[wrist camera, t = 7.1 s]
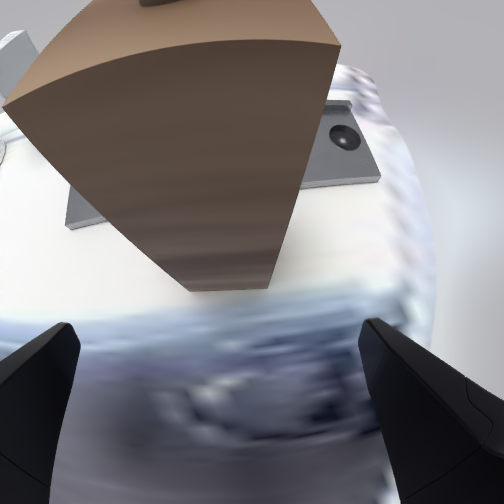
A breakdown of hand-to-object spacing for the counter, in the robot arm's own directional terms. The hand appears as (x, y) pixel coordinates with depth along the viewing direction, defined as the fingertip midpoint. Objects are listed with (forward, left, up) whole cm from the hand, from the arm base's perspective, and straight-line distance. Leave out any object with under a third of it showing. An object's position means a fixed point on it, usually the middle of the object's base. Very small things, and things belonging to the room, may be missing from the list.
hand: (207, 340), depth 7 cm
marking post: (+4, -3, -8) cm, 9 cm away
